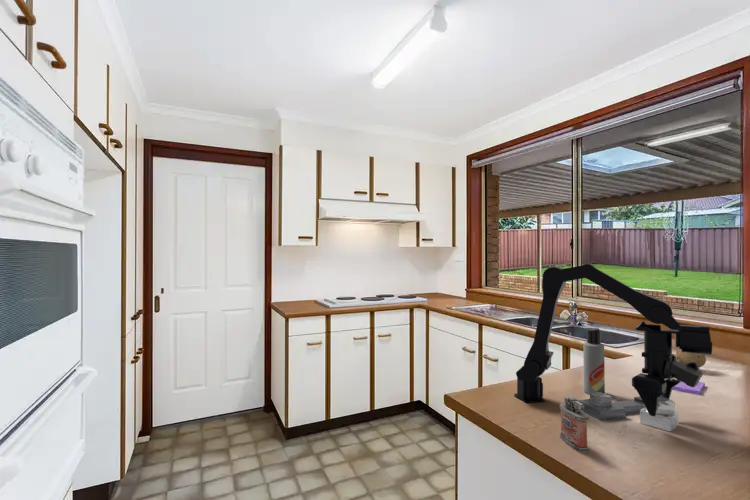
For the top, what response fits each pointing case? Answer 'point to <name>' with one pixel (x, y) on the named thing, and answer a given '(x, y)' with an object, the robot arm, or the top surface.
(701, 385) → the sponges
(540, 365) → the robot arm
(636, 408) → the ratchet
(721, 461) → the top surface
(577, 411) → the lighter
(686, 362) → the potato
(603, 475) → the top surface
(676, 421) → the grey square-based fixture
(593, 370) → the lotion bottle
